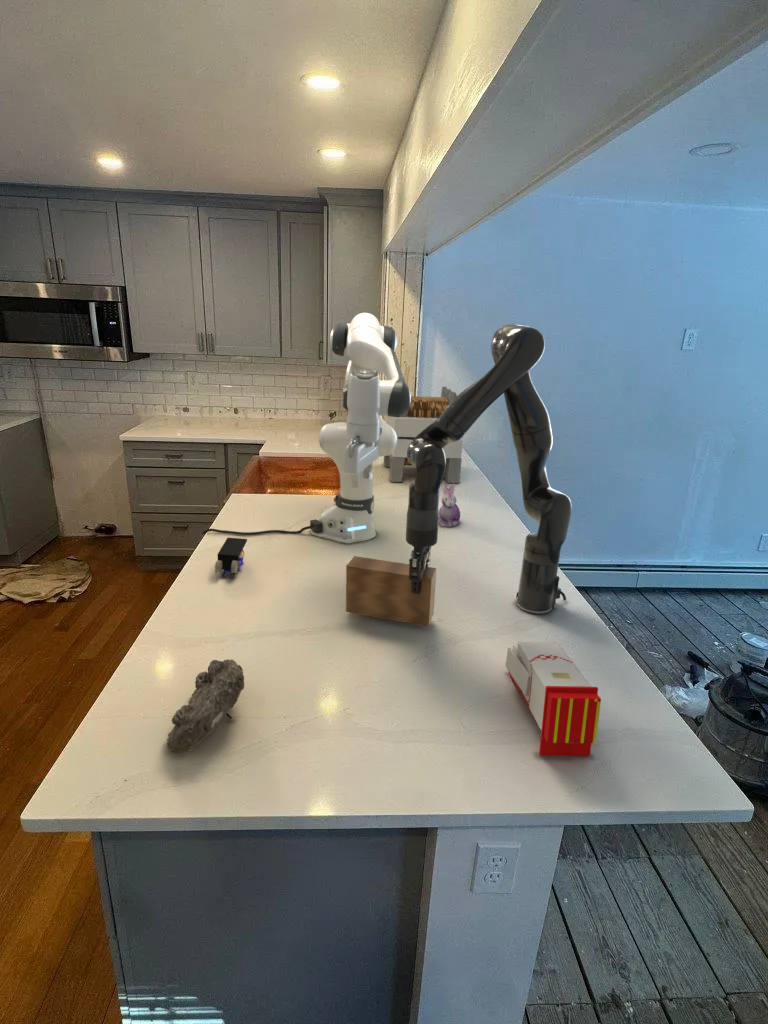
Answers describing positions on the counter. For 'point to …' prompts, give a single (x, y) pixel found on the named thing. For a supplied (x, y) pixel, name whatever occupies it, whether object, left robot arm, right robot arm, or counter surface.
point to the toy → (556, 697)
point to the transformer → (414, 423)
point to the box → (389, 591)
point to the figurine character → (230, 556)
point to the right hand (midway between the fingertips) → (419, 586)
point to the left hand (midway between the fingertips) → (361, 482)
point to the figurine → (449, 508)
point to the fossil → (206, 705)
